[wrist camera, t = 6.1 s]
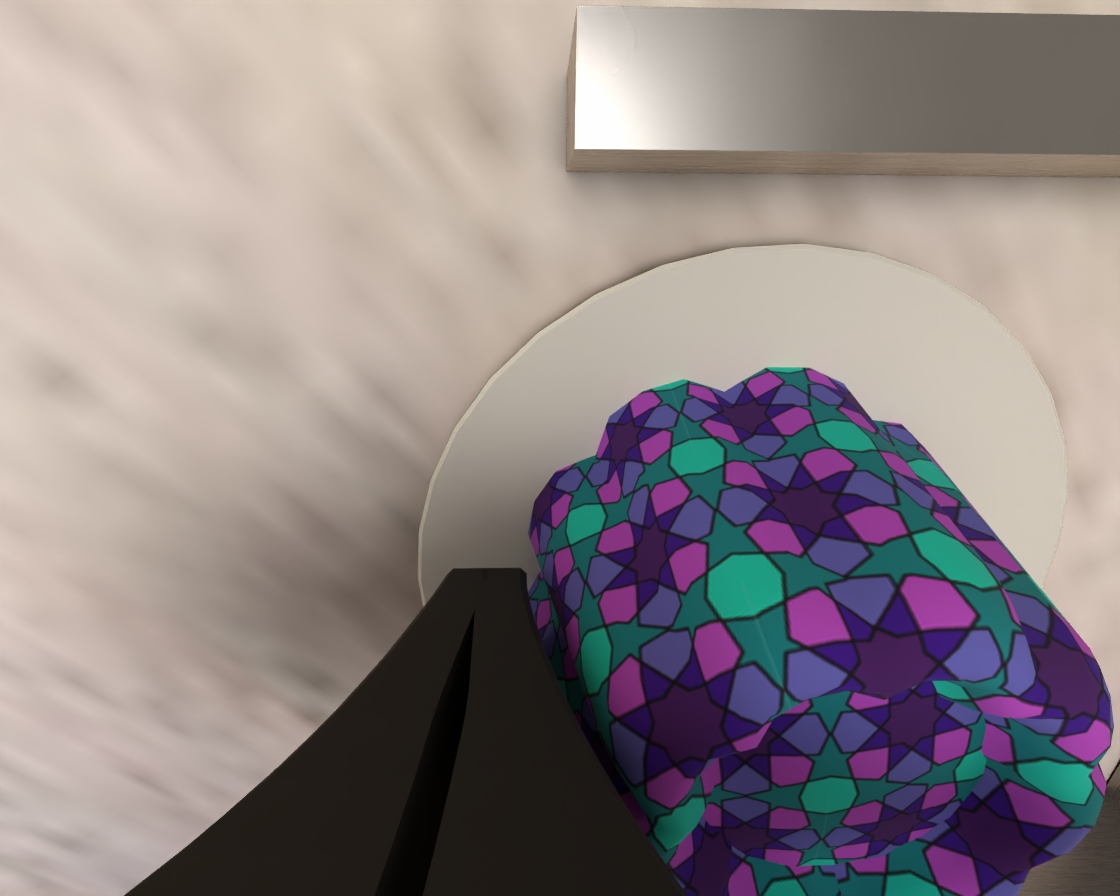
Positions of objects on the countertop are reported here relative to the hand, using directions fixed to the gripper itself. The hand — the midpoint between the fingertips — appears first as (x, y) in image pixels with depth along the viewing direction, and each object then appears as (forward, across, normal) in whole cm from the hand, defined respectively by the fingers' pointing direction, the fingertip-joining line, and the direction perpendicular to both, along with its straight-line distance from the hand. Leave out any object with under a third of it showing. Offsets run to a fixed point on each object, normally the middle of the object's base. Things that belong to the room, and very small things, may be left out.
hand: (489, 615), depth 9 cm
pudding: (+2, -5, 0) cm, 5 cm away
